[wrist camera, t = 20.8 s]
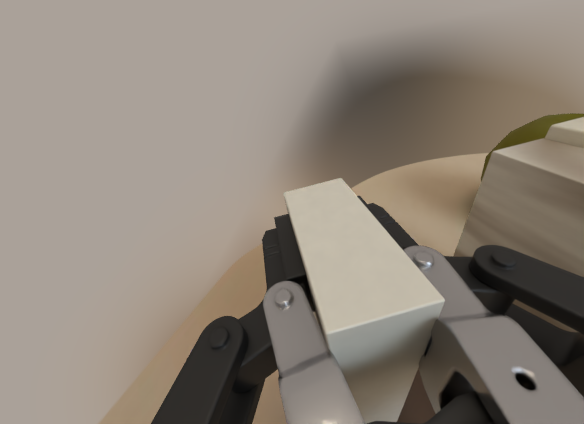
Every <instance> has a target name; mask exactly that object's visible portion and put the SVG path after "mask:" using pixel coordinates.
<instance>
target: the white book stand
mask: <svg viewBox="0 0 584 424" xmlns="http://www.w3.org/2000/svg"><path fill="white" fill-rule="evenodd" d="M484 245H498V246H503V247H507V248H510V249H513V250H515V251H518V252H520V253H523V254H525V255H528V256H530V257H533V258H535V259H538V260H541V261H543V262H546V263H548V264H551V265H553V266H556V267H558V268H561V269H564V270H566V271H569V272H571V273H574V274H576V275H579V276H581V277H584V117H581V118H577V119H574V120H570V121H566V122H562V123H558V124H554V125H552V126H551V127H550V129H549V131H548V133H547V135H546V137H545V138H542V139H538V140H534V141H531V142H527V143H523V144H519V145H515V146H511V147H507V148H503V149H499V150H496V151H493V152H492V154H491V157H490V160H489V162H488V165H487V168H486V170H485V173H484V176H483V178H482V181H481V184H480V186H479V189H478V192H477V194H476V197H475V200H474V202H473V205H472V208H471V210H470V213H469V216H468V218H467V221H466V224H465V226H464V229H463V232H462V235H461V237H460V240H459V243H458V245H457V248H456V251H455V253H454V256H453V257H473V254H474V252H475V250H476V249H477V248H479V247H481V246H484ZM513 304H515V305H517V306H519V307H520V308H522V309H524V310H526V311H528V312H530V313H532V314H534V315H536V316H538V317H539V318H541V319H543V320H545V321H547V322H549V323H551V324H553V325H555V326H556V327H558V328H560V329H563V330H566V331H569V332H578V331H576V330H574V329H572V328H570V327H568V326H566V325H564V324H562V323H561V322H559V321H557V320H555V319H553V318H551V317H549V316H547V315H545V314H543V313H541V312H539V311H537V310H535V309H533V308H531V307H529V306H527V305H525V304H524V303H522V302H520V301H518V300H516V299H515V301H514V302H513ZM434 415H435V411H434V409H433V407H432V404H431V402H430V400H429V397H428V395H427V393H426V390H425V388H424V385H423V382H422V379H421V375H420V369H419V368H418V370H417V373H416V375H415V378H414V380H413V383H412V385H411V388H410V390H409V393H408V395H407V398H406V400H405V403H404V405H403V408H402V410H401V413H400V415H399V418H398V420H397V422H404V423H425V422H427V421H428V420H430V419H431V418H432V417H433V416H434Z"/></svg>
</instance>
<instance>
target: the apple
mask: <svg viewBox="0 0 584 424" xmlns="http://www.w3.org/2000/svg"><path fill="white" fill-rule="evenodd" d="M581 117H584V114H558V115H548V116H544V117H542V118H539V119H537V120H534V121H532V122H530V123H528V124H526V125H524V126H522V127H520V128H518V129H515V130H514V131H511V132H510V133H509V134H508V135H507V136H506V137H505V138H504V139H503V140H502V141H501V142H500V143H499V144H498V145H497V146H496V147H495V148H494V149H493V150H492V151H491V152H490V153H489V154H488V155H487V156H486V159H485V164H484V168H483V172H482V177H481V181H482V178H483V176H484V173H485V170H486V168H487V165H488V162H489V160H490V157H491V154H492V152H493V151H496V150H499V149H503V148H507V147H511V146H515V145H519V144H523V143H527V142H531V141H534V140H538V139H542V138H545V137H546V135H547V133H548V131H549V129H550V127H551V126H552V125H554V124H558V123H562V122H566V121H570V120H574V119H577V118H581Z"/></svg>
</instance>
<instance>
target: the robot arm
mask: <svg viewBox="0 0 584 424" xmlns="http://www.w3.org/2000/svg"><path fill="white" fill-rule="evenodd" d="M357 197H358V198H359V199H360V200H361V202H362V203H363V204H364V205H365V206H366V207H367V209H368V210H369V211H370V212H371V213H372V214H373V216H374V217H375V218H376V219H377V220H378V222H379V223H380V224H381V225H382V226H383V227H384V229H385V230H386V231H387V232H388V233H389V234H390V236H391V237H392V238H393V239H394V240H395V241H396V243H397V244H398V245H399V246H400V247H401V248H402V250H403V251H404V252H405V253H406V254H407V255H408V257H409V258H410V259H411V260H412V261H413V263H414V264H415V265H416V266H417V267H418V268H419V270H420V271H421V272H422V273H423V274H424V275H425V277H426V278H427V279H428V280H429V281H430V282H431V284H432V285H433V286H434V287H435V288H436V289H437V291H438V292H439V293H440V294H441V295H442V297H443V298H444V299H445V302H444V305H443V307H442V310H441V312H440V315H439V317H438V319H436V320H435V323H434V325H433V328H432V330H431V337H430V340H429V342H428V345H427V347H426V350H425V353H424V354H423V355H422V356H421V358H420V361H419V369H420V375H421V379H422V382H423V385H424V388H425V390H426V393H427V395H428V397H429V400H430V402H431V404H432V407H433V409H434V411H435V415H434V416H433V417H432V418H431V419H430V420H428V421H427V422H425V423H404V422H388V421H374V422H370V423H367V424H584V277H581V276H579V275H576V274H574V273H571V272H569V271H566V270H564V269H561V268H558V267H556V266H553V265H551V264H548V263H546V262H543V261H541V260H538V259H535V258H533V257H530V256H528V255H525V254H523V253H520V252H518V251H515V250H513V249H510V248H507V247H503V246H498V245H484V246H481V247H479V248H477V249H476V250H475V252H474V254H473V257H449V256H443V255H442V254H441V253H439V252H438V251H436V250H434V249H432V248H429V247H426V246H419V245H418V244H417V243H416V242H415V241H414V240H413V239H412V238H411V237H410V236H409V235H408V234H407V233H406V232H405V230H404V229H403V228H402V227H401V226H400V225H399V224H398V223H397V222H395V220H394V219H393V218H392V217H391V216H390V215H389V214H388V213H387V212H386V211H385V210H384V209H383V208H382V207H380V206H378V205H376V204H374V203H371V204H367V203H366V202H365V201H364V200H363V199H362V198H361V197H360V196H357ZM274 219H275V224H276V228H275V229H271V230H268V231H266V232H265V235H264V237H263V239H262V242H263V253H264V263H265V273H266V283H267V291H266V294H265V296H264V299H263V301H262V302H261V303H260V304H259V306H258V307H256V308H255V309H254V310H253V311H251V312H249V313H248V314H246V315H245V316H243V317H242V318H240V319H236V318H235V317H232V316H224V317H220V318H218V319H216V320H214V321H213V322H211V323H210V324H209V325H208V326H207V327H206V328H205V329H204V330H203V332H202V334H201V335H200V337H199V339H198V341H197V342H196V344H195V346H194V348H193V350H192V351H191V353H190V355H189V357H188V358H187V360H186V362H185V364H184V366H183V367H182V369H181V371H180V373H179V375H178V376H177V378H176V380H175V382H174V383H173V385H172V387H171V389H170V391H169V392H168V394H167V396H166V398H165V400H164V401H163V403H162V405H161V407H160V409H159V410H158V412H157V414H156V416H155V417H154V419H153V421H152V423H151V424H252V422H253V418H254V415H255V412H256V408H257V405H258V402H259V398H260V395H261V392H262V388H263V385H264V382H265V378H267V377H268V376H269V375H271V374H272V373H273V372H275V371H276V370H277V369H278V371H279V378H278V381H279V388H280V394H281V398H282V403H283V407H284V412H285V416H286V420H287V424H365V422H364V420H363V417H362V415H361V413H360V411H359V409H358V406H357V404H356V402H355V400H354V397H353V395H352V393H351V391H350V388H349V386H348V384H347V382H346V380H345V377H344V375H343V373H342V371H341V368H340V366H339V364H338V362H337V360H336V358H335V356H334V355H333V353H332V352H331V351H330V350H329V349H328V346H327V343H326V341H325V338H324V336H323V334H322V331H321V329H320V327H319V325H318V322H317V320H316V318H315V316H314V313H313V312H315V309H314V305H313V301H312V296H311V292H310V288H309V284H308V279H307V275H306V272H305V268H304V265H303V261H302V258H301V254H300V251H299V248H298V244H297V241H296V237H295V234H294V231H293V227H292V224H291V220H290V217H289V214H286V215H282V216H278V217H275V218H274ZM515 299H516V300H518V301H520V302H522V303H524V304H525V305H527V306H529V307H531V308H533V309H535V310H537V311H539V312H541V313H543V314H545V315H547V316H549V317H551V318H553V319H555V320H557V321H559V322H561V323H562V324H564V325H566V326H568V327H570V328H572V329H574V330H576V331H578V332H569V331H566V330H563V329H560V328H558V327H556V326H555V325H553V324H551V323H549V322H547V321H545V320H543V319H541V318H539V317H538V316H536V315H534V314H532V313H530V312H528V311H526V310H524V309H522V308H520V307H519V306H517V305H515V304H513V302H514V301H515Z"/></svg>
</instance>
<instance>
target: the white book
mask: <svg viewBox="0 0 584 424" xmlns="http://www.w3.org/2000/svg"><path fill="white" fill-rule="evenodd" d="M284 198H285V202H286V206H287V210H288V214H289V217H290V220H291V224H292V227H293V231H294V234H295V237H296V241H297V244H298V248H299V251H300V254H301V258H302V261H303V265H304V268H305V272H306V275H307V279H308V284H309V288H310V292H311V296H312V301H313V305H314V309H315V312H313V313H314V316H315V318H316V320H317V322H318V325H319V327H320V329H321V331H322V334H323V336H324V338H325V341H326V343H327V346H328V349H329V350H330V351H331V352H332V353H333V355H334V356H335V358H336V360H337V362H338V364H339V366H340V368H341V371H342V373H343V375H344V377H345V380H346V382H347V384H348V386H349V388H350V391H351V393H352V395H353V397H354V400H355V402H356V404H357V406H358V409H359V411H360V413H361V415H362V417H363V420H364V422H365V424H367V423H370V422H374V421H388V422H397V420H398V418H399V415H400V413H401V410H402V408H403V405H404V403H405V400H406V398H407V395H408V393H409V390H410V388H411V385H412V383H413V380H414V378H415V375H416V373H417V370H418V368H419V361H420V358H421V356H422V355H423V354H424V353H425V350H426V347H427V345H428V342H429V340H430V337H431V330H432V328H433V325H434V323H435V320H436V319H438V317H439V315H440V312H441V310H442V307H443V305H444V302H445V299H444V298H443V297H442V295H441V294H440V293H439V292H438V291H437V289H436V288H435V287H434V286H433V285H432V284H431V282H430V281H429V280H428V279H427V278H426V277H425V275H424V274H423V273H422V272H421V271H420V270H419V268H418V267H417V266H416V265H415V264H414V263H413V261H412V260H411V259H410V258H409V257H408V255H407V254H406V253H405V252H404V251H403V250H402V248H401V247H400V246H399V245H398V244H397V243H396V241H395V240H394V239H393V238H392V237H391V236H390V234H389V233H388V232H387V231H386V230H385V229H384V227H383V226H382V225H381V224H380V223H379V222H378V220H377V219H376V218H375V217H374V216H373V214H372V213H371V212H370V211H369V210H368V209H367V207H366V206H365V205H364V204H363V203H362V202H361V200H360V199H359V198H358V197H357V196H356V195H355V193H354V192H353V191H352V190H351V189H350V188H349V186H348V185H347V184H346V183H345V182H344V180H343V179H342V178H339V179H335V180H331V181H327V182H323V183H319V184H315V185H312V186H308V187H304V188H300V189H296V190H293V191H288V192H285V193H284Z"/></svg>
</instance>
